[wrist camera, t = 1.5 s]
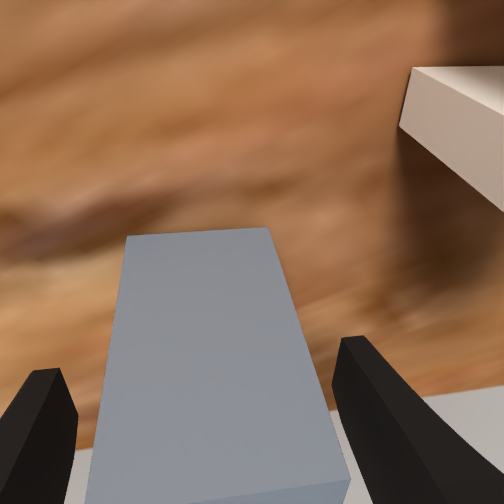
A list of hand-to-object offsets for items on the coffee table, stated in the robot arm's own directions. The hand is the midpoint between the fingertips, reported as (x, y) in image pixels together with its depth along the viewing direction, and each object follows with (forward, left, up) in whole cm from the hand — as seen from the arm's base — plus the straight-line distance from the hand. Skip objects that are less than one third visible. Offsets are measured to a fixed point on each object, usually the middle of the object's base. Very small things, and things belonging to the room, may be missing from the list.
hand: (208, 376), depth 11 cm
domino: (0, 0, -6) cm, 6 cm away
